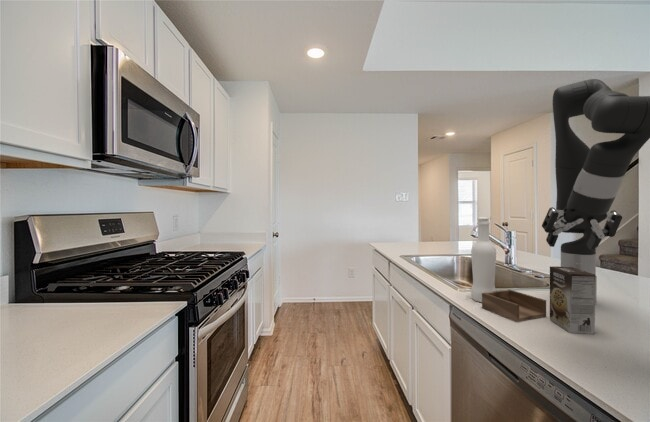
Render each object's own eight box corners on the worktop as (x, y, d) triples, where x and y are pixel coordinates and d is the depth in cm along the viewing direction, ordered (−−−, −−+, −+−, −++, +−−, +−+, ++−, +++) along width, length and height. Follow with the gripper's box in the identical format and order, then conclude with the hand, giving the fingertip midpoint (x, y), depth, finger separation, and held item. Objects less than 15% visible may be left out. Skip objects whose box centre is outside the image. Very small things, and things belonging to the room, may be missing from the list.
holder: (509, 303, 102) (509, 289, 102) (546, 316, 90) (546, 300, 90) (481, 307, 98) (481, 293, 98) (516, 322, 86) (516, 305, 86)
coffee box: (548, 319, 87) (548, 266, 87) (572, 320, 86) (572, 266, 86) (569, 333, 78) (569, 273, 78) (596, 334, 77) (596, 273, 77)
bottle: (500, 304, 101) (500, 217, 100) (474, 303, 103) (474, 217, 102) (491, 297, 109) (491, 216, 108) (468, 296, 111) (468, 216, 110)
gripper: (623, 183, 68) (595, 240, 76) (551, 181, 71) (532, 235, 80) (644, 199, 62) (611, 258, 70) (564, 195, 65) (542, 252, 73)
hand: (569, 246), depth 75 cm, fingers open, 8 cm apart
